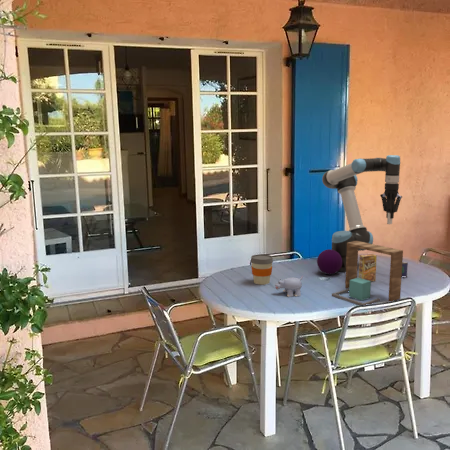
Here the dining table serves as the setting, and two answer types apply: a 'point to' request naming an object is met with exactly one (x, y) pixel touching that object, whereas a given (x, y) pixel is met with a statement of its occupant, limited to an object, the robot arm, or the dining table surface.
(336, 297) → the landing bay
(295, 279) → the hippopotamus toy
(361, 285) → the teal block
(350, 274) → the tunnel
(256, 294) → the dining table surface
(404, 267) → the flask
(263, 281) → the reusable coffee cup
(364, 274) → the candy box
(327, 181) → the robot arm
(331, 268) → the toy ball
